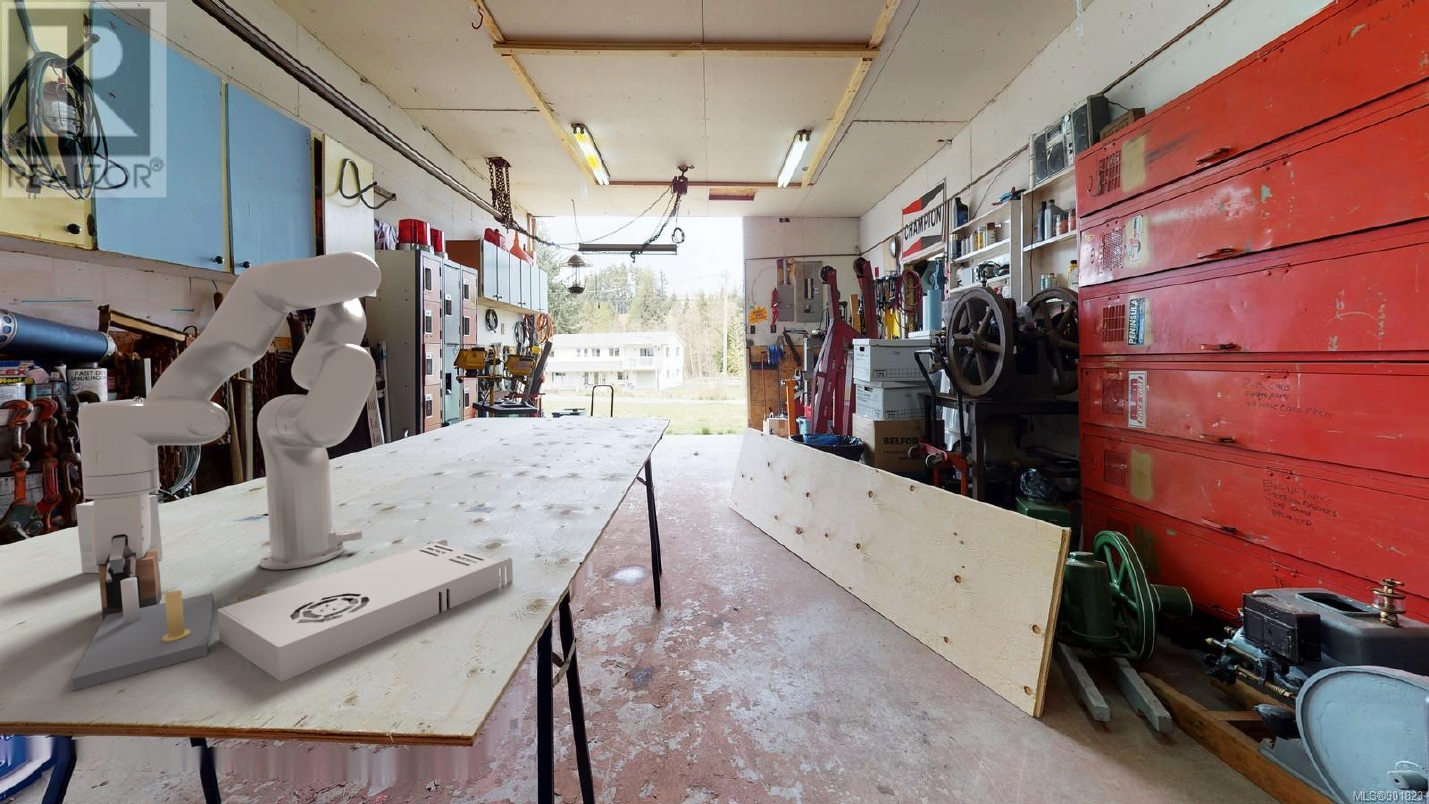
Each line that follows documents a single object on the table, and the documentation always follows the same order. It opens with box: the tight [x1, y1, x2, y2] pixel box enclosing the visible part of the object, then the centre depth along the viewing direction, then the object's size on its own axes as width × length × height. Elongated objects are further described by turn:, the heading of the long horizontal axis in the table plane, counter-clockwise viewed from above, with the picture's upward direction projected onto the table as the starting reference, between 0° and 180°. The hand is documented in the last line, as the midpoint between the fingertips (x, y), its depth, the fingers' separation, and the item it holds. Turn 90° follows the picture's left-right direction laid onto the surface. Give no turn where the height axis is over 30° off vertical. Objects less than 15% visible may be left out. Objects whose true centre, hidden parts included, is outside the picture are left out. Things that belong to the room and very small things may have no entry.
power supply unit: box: [217, 539, 514, 682], centre depth 80 cm, size 19×33×5 cm, turn 150°
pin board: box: [71, 577, 215, 692], centre depth 70 cm, size 11×20×8 cm, turn 42°
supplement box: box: [75, 494, 164, 574], centre depth 95 cm, size 7×7×13 cm
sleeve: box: [98, 549, 162, 621], centre depth 78 cm, size 5×5×8 cm
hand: (129, 594), depth 78 cm, fingers open, 9 cm apart
